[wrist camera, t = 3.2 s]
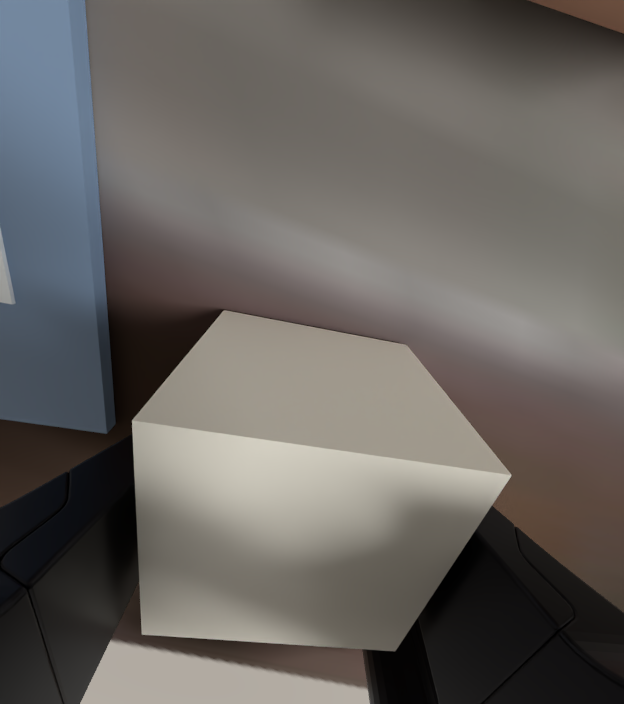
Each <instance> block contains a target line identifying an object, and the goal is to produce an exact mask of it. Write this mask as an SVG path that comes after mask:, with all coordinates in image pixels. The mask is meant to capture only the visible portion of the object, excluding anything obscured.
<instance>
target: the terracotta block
mask: <svg viewBox="0 0 624 704" xmlns="http://www.w3.org/2000/svg"><path fill="white" fill-rule="evenodd" d="M528 1H531V2H534V3H537V4H540V5H543V6H546V7H548V8H551V9H554V10H557V11H560V12H563V13H566V14H569V15H571V16H574V17H577V18H580V19H583V20H586V21H589V22H592V23H594V24H597V25H600V26H603V27H606V28H609V29H612V30H615V31H617V32H620V33H623V34H624V0H528Z"/></svg>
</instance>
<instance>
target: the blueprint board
mask: <svg viewBox="0 0 624 704" xmlns="http://www.w3.org/2000/svg"><path fill="white" fill-rule="evenodd" d="M0 419H4V420H11V421H19V422H26V423H33V424H40V425H47V426H55V427H62V428H69V429H76V430H83V431H91V432H98V433H105V434H107V433H108V432H109V431H110V430H111V429H112V428H113V426H114V425H115V424H116V420H115V407H114V393H113V379H112V366H111V352H110V338H109V324H108V311H107V297H106V283H105V270H104V256H103V242H102V228H101V215H100V201H99V187H98V174H97V160H96V146H95V133H94V119H93V105H92V91H91V78H90V64H89V50H88V37H87V23H86V9H85V0H0Z"/></svg>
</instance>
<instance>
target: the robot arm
mask: <svg viewBox="0 0 624 704" xmlns="http://www.w3.org/2000/svg"><path fill="white" fill-rule="evenodd" d="M138 582H139V564H138V542H137V520H136V499H135V477H134V455H133V434H131V435H130V436H128V437H126V438H124V439H123V440H121V441H119V442H117V443H116V444H114V445H112V446H110V447H109V448H107V449H105V450H103V451H102V452H100V453H98V454H96V455H95V456H93V457H91V458H89V459H88V460H86V461H84V462H82V463H81V464H79V465H77V466H75V467H74V468H72V469H70V471H69V473H68V472H65V473H63V474H61V475H59V476H58V477H56V478H54V479H53V480H51V481H49V482H47V483H45V484H44V485H42V486H40V487H38V488H36V489H35V490H33V491H31V492H29V493H27V494H25V495H24V496H22V497H20V498H18V499H16V500H14V501H12V502H11V503H9V504H7V505H5V506H3V507H1V508H0V704H80V702H81V700H82V698H83V696H84V694H85V692H86V690H87V688H88V685H89V683H90V681H91V679H92V677H93V675H94V673H95V671H96V669H97V667H98V665H99V663H100V660H101V658H102V656H103V654H104V652H105V650H106V648H107V646H108V644H109V642H110V640H111V638H112V636H113V634H114V632H115V629H116V627H117V625H118V623H119V621H120V619H121V617H122V615H123V613H124V611H125V609H126V607H127V605H128V602H129V600H130V598H131V596H132V594H133V592H134V590H135V588H136V586H137V584H138ZM362 650H363V657H364V664H365V671H366V679H367V686H368V692H369V700H370V704H624V613H623V612H622V611H621V610H620V609H618V608H617V607H616V606H614V605H613V604H612V603H611V602H609V601H608V600H607V599H605V598H604V597H603V596H602V595H600V594H599V593H598V592H596V591H595V590H594V589H592V588H591V587H590V586H589V585H587V584H586V583H585V582H583V581H582V580H581V579H580V578H578V577H577V576H576V575H575V574H573V573H572V572H571V571H570V570H568V569H567V568H566V567H564V566H563V565H562V564H561V563H559V562H558V561H557V560H556V559H554V558H553V557H552V556H551V555H550V554H548V553H547V552H546V551H545V550H544V549H542V548H541V547H540V546H539V545H538V544H536V543H535V542H534V541H533V540H532V539H530V538H529V537H528V536H527V535H526V534H525V533H523V532H522V531H521V530H520V529H519V528H517V527H514V524H513V523H512V522H510V521H509V520H508V519H507V518H506V517H505V516H503V515H502V514H501V513H500V512H499V511H497V510H496V509H495V508H494V507H493V506H491V508H490V509H489V511H488V512H487V514H486V515H485V517H484V518H483V520H482V521H481V523H480V524H479V526H478V527H477V529H476V530H475V532H474V533H473V535H472V536H471V538H470V539H469V541H468V542H467V544H466V545H465V547H464V548H463V550H462V551H461V553H460V554H459V556H458V557H457V559H456V560H455V562H454V563H453V565H452V566H451V568H450V569H449V571H448V573H447V574H446V576H445V577H444V579H443V580H442V582H441V583H440V585H439V586H438V588H437V589H436V591H435V592H434V594H433V595H432V597H431V598H430V600H429V601H428V603H427V604H426V606H425V607H424V609H423V610H422V612H421V613H420V615H419V616H418V618H417V619H416V621H415V622H414V624H413V625H412V627H411V628H410V630H409V631H408V633H407V634H406V636H405V637H404V639H403V641H402V642H401V644H400V645H399V647H398V648H397V650H396V651H382V650H367V649H362Z"/></svg>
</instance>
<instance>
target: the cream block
mask: <svg viewBox="0 0 624 704" xmlns="http://www.w3.org/2000/svg"><path fill="white" fill-rule="evenodd" d="M132 433H133V455H134V477H135V499H136V520H137V542H138V564H139V585H140V607H141V629H142V635H156V636H171V637H186V638H201V639H216V640H231V641H246V642H261V643H276V644H291V645H307V646H322V647H337V648H352V649H367V650H382V651H396V650H397V648H398V647H399V645H400V644H401V642H402V641H403V639H404V637H405V636H406V634H407V633H408V631H409V630H410V628H411V627H412V625H413V624H414V622H415V621H416V619H417V618H418V616H419V615H420V613H421V612H422V610H423V609H424V607H425V606H426V604H427V603H428V601H429V600H430V598H431V597H432V595H433V594H434V592H435V591H436V589H437V588H438V586H439V585H440V583H441V582H442V580H443V579H444V577H445V576H446V574H447V573H448V571H449V569H450V568H451V566H452V565H453V563H454V562H455V560H456V559H457V557H458V556H459V554H460V553H461V551H462V550H463V548H464V547H465V545H466V544H467V542H468V541H469V539H470V538H471V536H472V535H473V533H474V532H475V530H476V529H477V527H478V526H479V524H480V523H481V521H482V520H483V518H484V517H485V515H486V514H487V512H488V511H489V509H490V508H491V506H492V504H493V503H494V501H495V500H496V498H497V497H498V495H499V494H500V492H501V491H502V489H503V488H504V486H505V485H506V483H507V482H508V480H509V479H510V477H511V476H512V475H511V474H510V472H509V471H508V470H507V469H506V468H505V466H504V465H503V464H502V463H501V461H500V460H499V459H498V458H497V456H496V455H495V454H494V453H493V451H492V450H491V449H490V448H489V446H488V445H487V444H486V443H485V442H484V440H483V439H482V438H481V437H480V435H479V434H478V433H477V432H476V430H475V429H474V428H473V427H472V425H471V424H470V423H469V422H468V420H467V419H466V418H465V417H464V416H463V414H462V413H461V412H460V411H459V409H458V408H457V407H456V406H455V404H454V403H453V402H452V401H451V399H450V398H449V397H448V396H447V394H446V393H445V392H444V391H443V389H442V388H441V387H440V386H439V385H438V383H437V382H436V381H435V380H434V378H433V377H432V376H431V375H430V373H429V372H428V371H427V370H426V368H425V367H424V366H423V365H422V363H421V362H420V361H419V360H418V359H417V357H416V356H415V355H414V354H413V352H412V351H411V350H410V349H409V347H408V346H407V345H404V344H399V343H394V342H389V341H383V340H378V339H373V338H368V337H362V336H357V335H352V334H347V333H341V332H336V331H331V330H326V329H321V328H315V327H310V326H305V325H300V324H294V323H289V322H284V321H279V320H273V319H268V318H263V317H258V316H252V315H247V314H242V313H237V312H231V311H226V310H224V311H223V312H222V313H221V314H220V315H219V317H218V318H217V319H216V320H215V321H214V323H213V324H212V325H211V326H210V327H209V329H208V330H207V331H206V332H205V333H204V335H203V336H202V337H201V338H200V339H199V341H198V342H197V343H196V344H195V345H194V347H193V348H192V349H191V350H190V351H189V353H188V354H187V355H186V356H185V357H184V359H183V360H182V361H181V362H180V363H179V365H178V366H177V367H176V368H175V369H174V371H173V372H172V373H171V374H170V375H169V377H168V378H167V379H166V380H165V381H164V383H163V384H162V385H161V386H160V387H159V389H158V390H157V391H156V392H155V393H154V395H153V396H152V397H151V398H150V399H149V401H148V402H147V403H146V404H145V405H144V407H143V408H142V409H141V410H140V411H139V413H138V414H137V415H136V416H135V417H134V419H133V420H132Z"/></svg>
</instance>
